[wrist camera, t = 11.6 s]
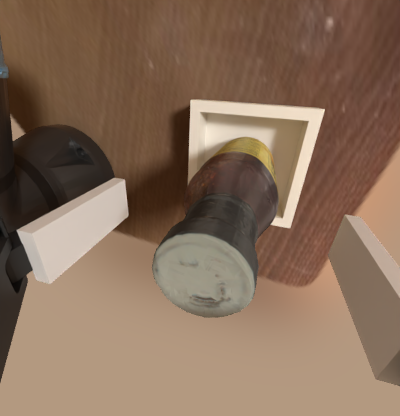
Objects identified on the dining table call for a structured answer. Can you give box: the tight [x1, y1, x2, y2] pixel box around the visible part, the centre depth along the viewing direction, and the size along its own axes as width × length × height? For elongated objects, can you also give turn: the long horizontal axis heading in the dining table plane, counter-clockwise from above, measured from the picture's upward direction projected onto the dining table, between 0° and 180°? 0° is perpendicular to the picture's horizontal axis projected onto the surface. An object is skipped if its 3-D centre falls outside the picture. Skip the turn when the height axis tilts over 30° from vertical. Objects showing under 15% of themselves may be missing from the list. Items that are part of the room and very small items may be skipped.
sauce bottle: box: [152, 137, 279, 317], centre depth 17 cm, size 7×6×20 cm
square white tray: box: [188, 99, 325, 228], centre depth 25 cm, size 12×12×4 cm
